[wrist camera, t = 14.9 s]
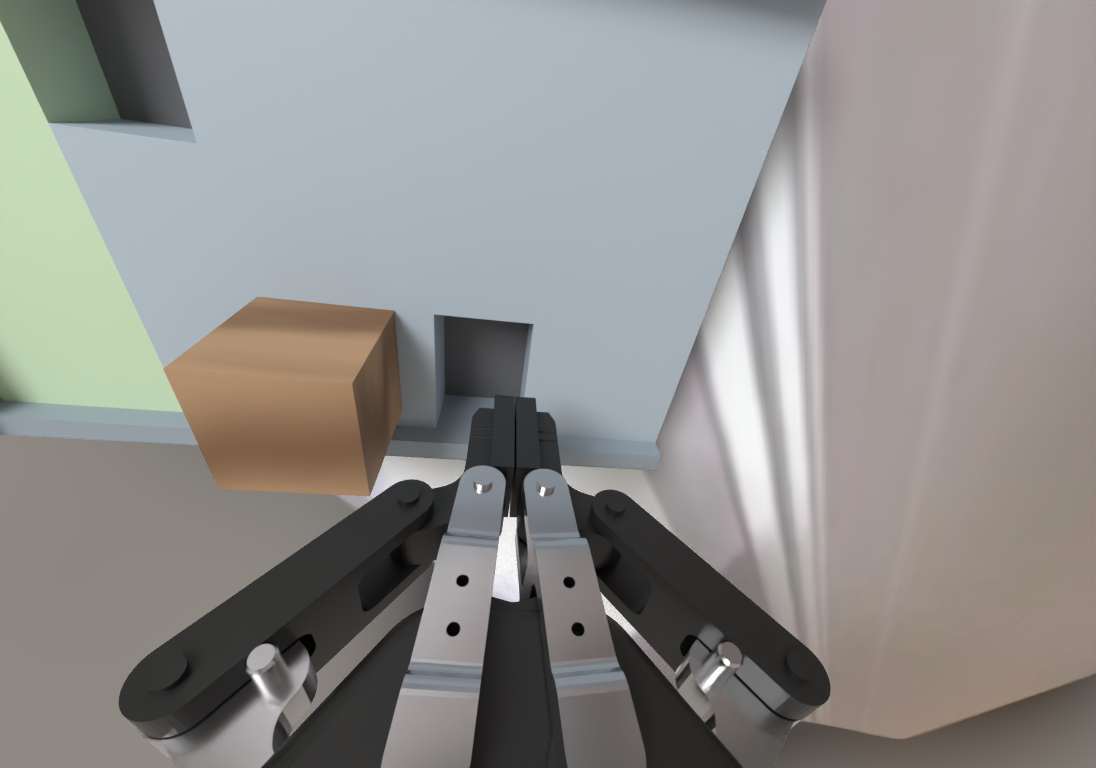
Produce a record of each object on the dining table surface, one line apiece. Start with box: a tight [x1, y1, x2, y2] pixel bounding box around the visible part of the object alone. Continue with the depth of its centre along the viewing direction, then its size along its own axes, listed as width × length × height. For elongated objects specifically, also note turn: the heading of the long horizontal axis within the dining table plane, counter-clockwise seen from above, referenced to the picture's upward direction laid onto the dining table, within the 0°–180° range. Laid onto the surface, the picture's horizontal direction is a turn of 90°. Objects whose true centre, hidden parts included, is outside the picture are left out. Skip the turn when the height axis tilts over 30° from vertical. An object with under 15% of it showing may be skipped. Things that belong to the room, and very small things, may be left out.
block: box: [163, 297, 402, 496], centre depth 15 cm, size 5×5×5 cm
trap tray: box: [0, 0, 826, 470], centre depth 15 cm, size 19×30×5 cm, turn 82°
